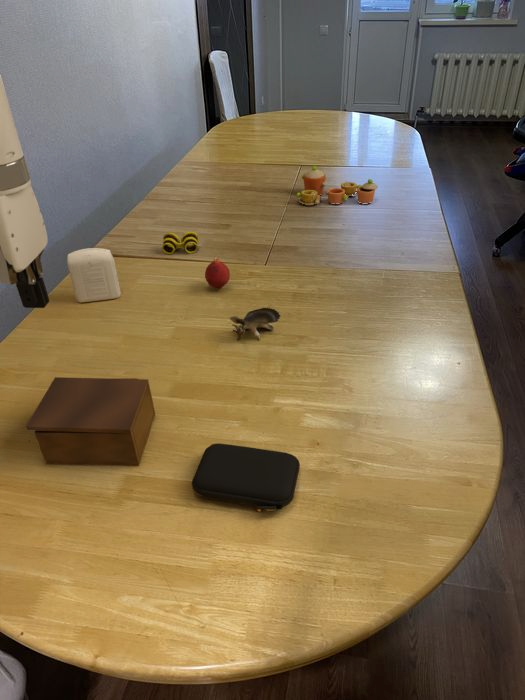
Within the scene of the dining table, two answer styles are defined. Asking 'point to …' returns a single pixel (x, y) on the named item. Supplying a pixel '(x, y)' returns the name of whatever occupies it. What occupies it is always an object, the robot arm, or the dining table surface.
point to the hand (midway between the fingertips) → (36, 304)
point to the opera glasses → (173, 243)
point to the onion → (217, 274)
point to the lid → (89, 405)
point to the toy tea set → (333, 189)
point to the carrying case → (247, 476)
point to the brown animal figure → (255, 321)
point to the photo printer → (93, 274)
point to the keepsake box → (99, 442)
